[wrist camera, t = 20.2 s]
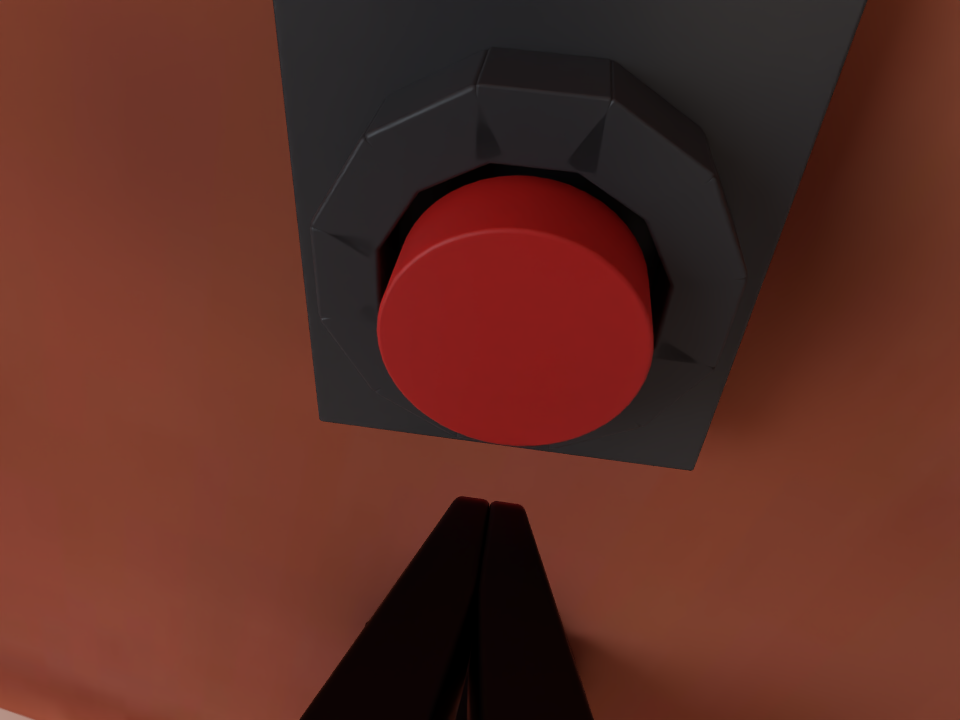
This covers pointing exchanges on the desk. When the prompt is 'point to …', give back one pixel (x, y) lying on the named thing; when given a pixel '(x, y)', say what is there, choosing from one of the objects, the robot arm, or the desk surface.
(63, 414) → the desk surface
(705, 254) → the button pad
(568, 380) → the button
